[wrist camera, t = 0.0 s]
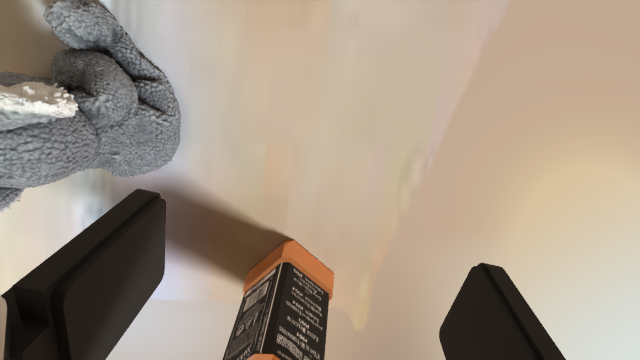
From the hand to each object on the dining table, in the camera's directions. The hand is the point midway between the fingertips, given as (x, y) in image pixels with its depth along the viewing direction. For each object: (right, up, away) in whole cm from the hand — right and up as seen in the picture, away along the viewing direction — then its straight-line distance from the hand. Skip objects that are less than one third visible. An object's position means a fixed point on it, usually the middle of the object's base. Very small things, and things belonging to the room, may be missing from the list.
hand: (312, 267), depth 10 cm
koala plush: (-24, +12, +31) cm, 41 cm away
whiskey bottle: (-4, -12, +40) cm, 42 cm away
